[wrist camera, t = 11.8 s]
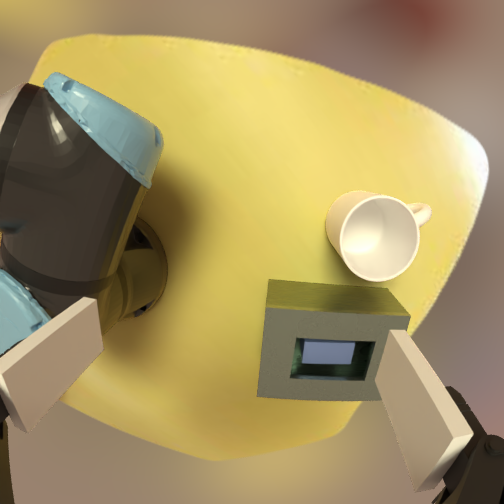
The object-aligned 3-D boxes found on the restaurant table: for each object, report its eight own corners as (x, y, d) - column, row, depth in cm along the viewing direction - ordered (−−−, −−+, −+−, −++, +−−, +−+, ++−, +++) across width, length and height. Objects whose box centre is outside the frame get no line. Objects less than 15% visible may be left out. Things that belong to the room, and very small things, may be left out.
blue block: (299, 338, 41) (301, 363, 35) (301, 319, 40) (304, 341, 34) (342, 340, 40) (350, 364, 35) (345, 320, 40) (355, 343, 34)
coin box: (261, 357, 43) (256, 396, 34) (268, 279, 40) (265, 307, 31) (368, 363, 42) (383, 400, 33) (386, 288, 39) (410, 315, 30)
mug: (401, 173, 35) (439, 174, 25) (417, 233, 37) (456, 252, 27) (315, 202, 37) (328, 211, 27) (335, 264, 39) (353, 293, 29)
